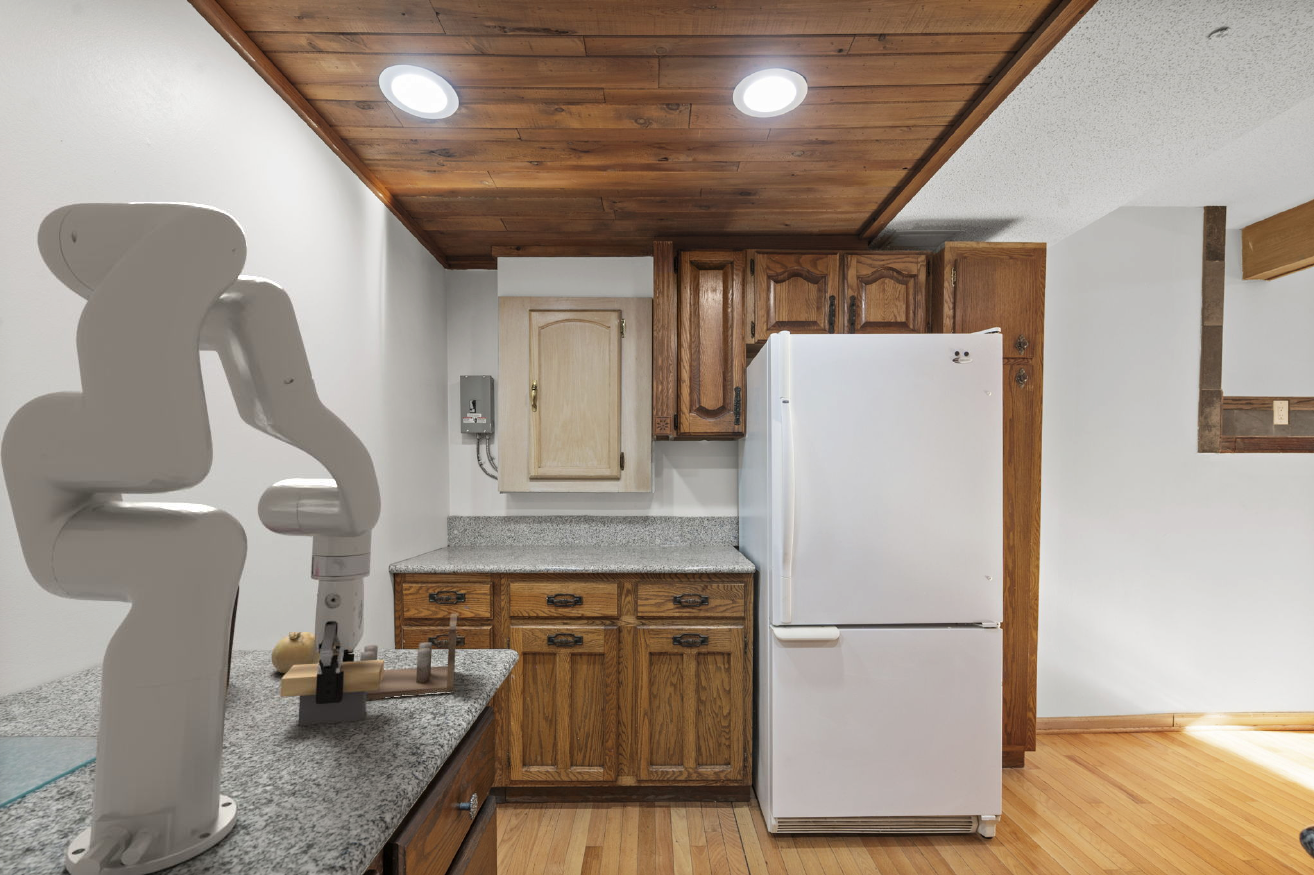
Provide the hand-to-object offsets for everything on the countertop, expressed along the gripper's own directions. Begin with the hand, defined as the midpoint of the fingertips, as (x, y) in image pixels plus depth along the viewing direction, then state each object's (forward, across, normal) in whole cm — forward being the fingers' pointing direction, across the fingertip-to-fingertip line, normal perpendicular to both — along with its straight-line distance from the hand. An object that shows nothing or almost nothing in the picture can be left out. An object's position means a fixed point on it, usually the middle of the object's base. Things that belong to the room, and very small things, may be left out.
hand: (335, 691), depth 88 cm
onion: (+4, +24, +10) cm, 26 cm away
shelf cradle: (+4, +12, -7) cm, 14 cm away
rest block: (+4, 0, 0) cm, 4 cm away
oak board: (-1, 0, 0) cm, 1 cm away
